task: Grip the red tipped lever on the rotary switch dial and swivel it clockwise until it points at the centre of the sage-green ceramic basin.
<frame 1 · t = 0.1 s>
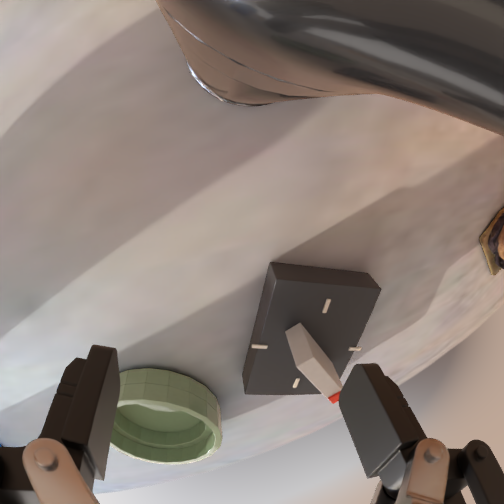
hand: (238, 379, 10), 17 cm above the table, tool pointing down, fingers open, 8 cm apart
basin: (159, 404, 34), on the table
rotary switch dial: (302, 328, 31), on the table
red tipped lever: (317, 365, 26), point 5 cm above the table, hinge at 45.0°
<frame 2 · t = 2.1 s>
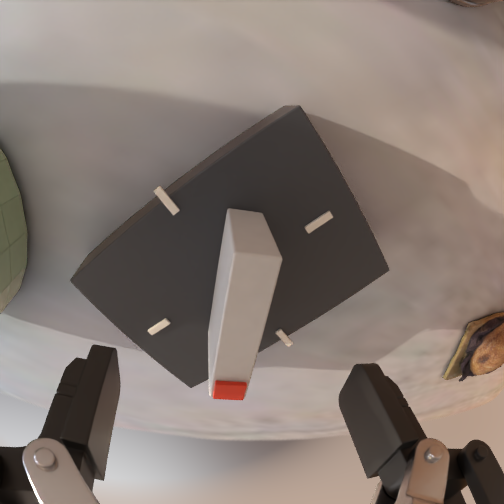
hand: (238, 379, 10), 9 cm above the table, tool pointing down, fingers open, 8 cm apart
rotary switch dial: (229, 251, 18), on the table
red tipped lever: (236, 307, 13), point 5 cm above the table, hinge at 45.0°
open sandwich: (483, 340, 26), on the table
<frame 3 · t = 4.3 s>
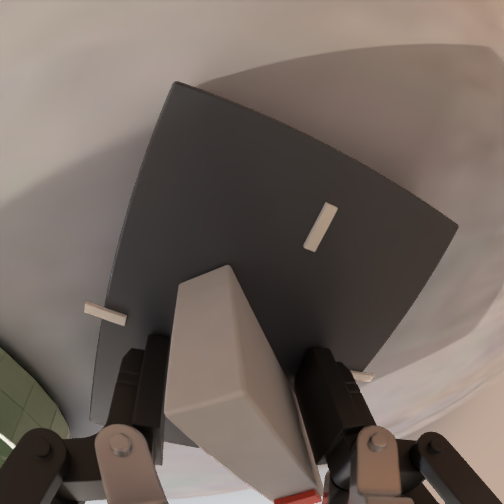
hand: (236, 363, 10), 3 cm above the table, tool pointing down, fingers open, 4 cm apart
rotary switch dial: (240, 303, 13), on the table
red tipped lever: (258, 410, 8), point 5 cm above the table, hinge at 45.0°
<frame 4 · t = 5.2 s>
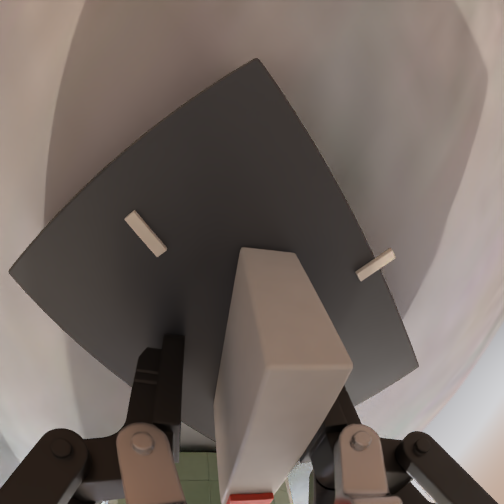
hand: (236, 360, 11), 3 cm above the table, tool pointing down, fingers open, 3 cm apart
basin: (199, 482, 21), on the table
rotary switch dial: (239, 293, 13), on the table
red tipped lever: (256, 398, 8), point 5 cm above the table, hinge at -43.7°
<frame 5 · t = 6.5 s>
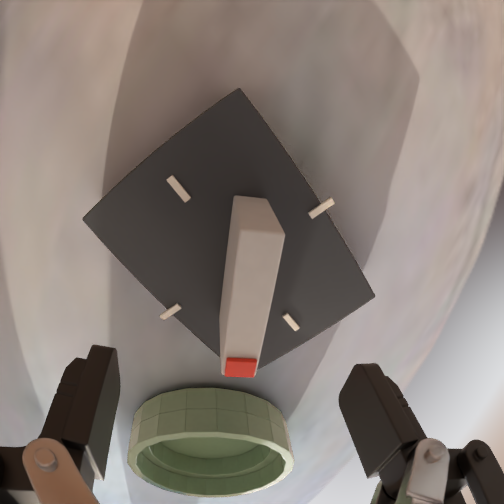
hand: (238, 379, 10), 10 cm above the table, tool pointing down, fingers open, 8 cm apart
basin: (209, 429, 27), on the table
rotary switch dial: (237, 239, 19), on the table
red tipped lever: (244, 287, 14), point 5 cm above the table, hinge at -43.7°
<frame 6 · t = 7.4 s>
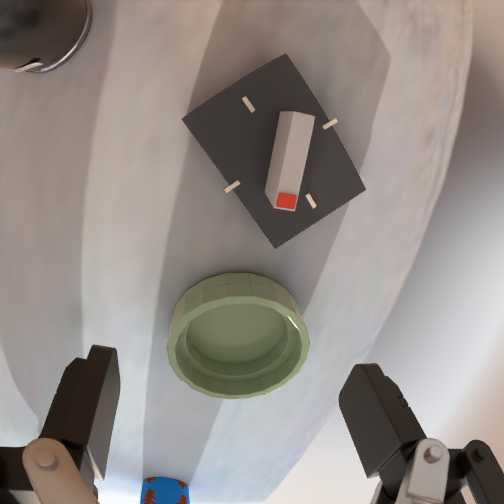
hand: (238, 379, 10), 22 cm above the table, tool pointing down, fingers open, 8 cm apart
thermos: (165, 485, 54), on the table
basin: (235, 325, 36), on the table
rotary switch dial: (275, 149, 28), on the table
red tipped lever: (287, 157, 23), point 5 cm above the table, hinge at -43.7°
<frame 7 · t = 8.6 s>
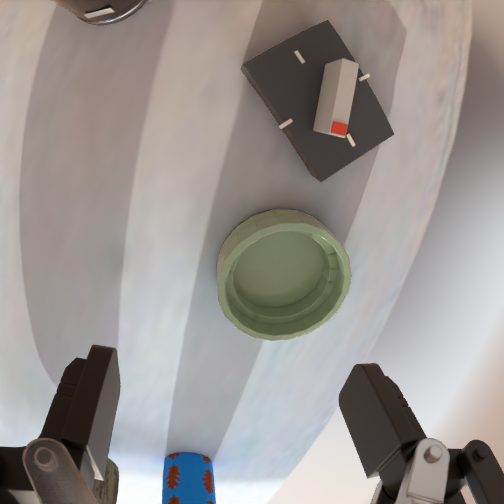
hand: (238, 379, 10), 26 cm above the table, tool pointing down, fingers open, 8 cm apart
thermos: (188, 461, 57), on the table
basin: (278, 266, 38), on the table
rotary switch dial: (316, 99, 30), on the table
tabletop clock: (89, 436, 51), on the table
red tipped lever: (335, 98, 25), point 5 cm above the table, hinge at -43.7°
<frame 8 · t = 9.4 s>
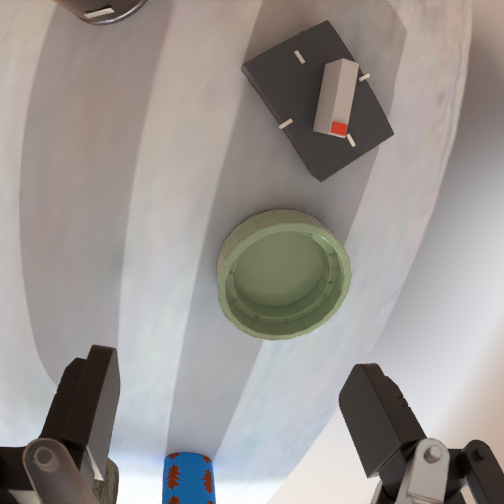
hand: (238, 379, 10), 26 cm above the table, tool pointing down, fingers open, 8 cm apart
thermos: (188, 461, 57), on the table
basin: (278, 266, 38), on the table
rotary switch dial: (316, 99, 30), on the table
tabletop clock: (89, 436, 51), on the table
red tipped lever: (335, 98, 25), point 5 cm above the table, hinge at -43.7°
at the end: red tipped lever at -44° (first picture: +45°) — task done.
